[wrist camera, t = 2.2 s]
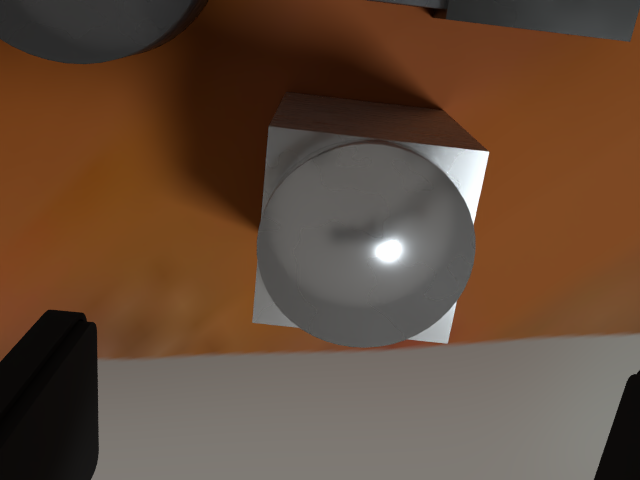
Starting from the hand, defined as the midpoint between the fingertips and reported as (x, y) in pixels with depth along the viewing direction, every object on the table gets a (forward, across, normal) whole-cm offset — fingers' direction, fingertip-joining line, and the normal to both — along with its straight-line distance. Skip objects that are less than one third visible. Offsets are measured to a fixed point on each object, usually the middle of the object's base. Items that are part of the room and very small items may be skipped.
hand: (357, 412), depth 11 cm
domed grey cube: (+14, -1, -1) cm, 15 cm away
